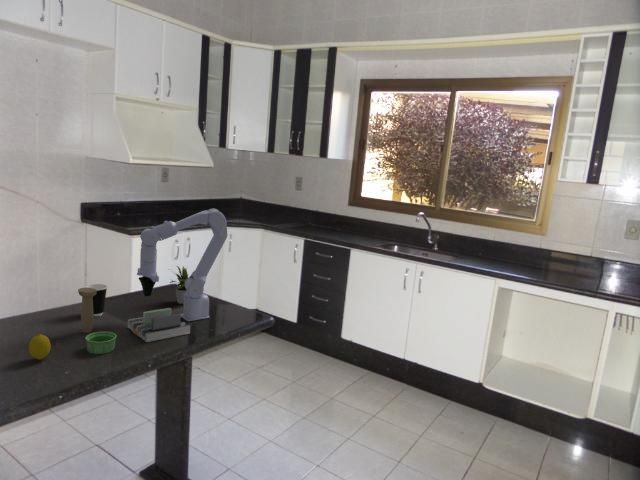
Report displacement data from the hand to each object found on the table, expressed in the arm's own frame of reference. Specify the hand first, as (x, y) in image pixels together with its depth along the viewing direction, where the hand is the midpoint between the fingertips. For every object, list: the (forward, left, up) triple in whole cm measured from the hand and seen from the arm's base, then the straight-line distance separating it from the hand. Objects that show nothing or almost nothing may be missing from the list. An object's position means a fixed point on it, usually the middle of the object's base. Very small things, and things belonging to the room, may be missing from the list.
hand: (147, 295), depth 178 cm
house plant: (-21, -14, -10) cm, 27 cm away
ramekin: (+23, +19, -10) cm, 31 cm away
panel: (+1, +11, -8) cm, 14 cm away
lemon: (+40, +18, -10) cm, 45 cm away
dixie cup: (+14, -14, -10) cm, 22 cm away
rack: (+1, +13, -9) cm, 16 cm away
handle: (+22, +2, -10) cm, 24 cm away
